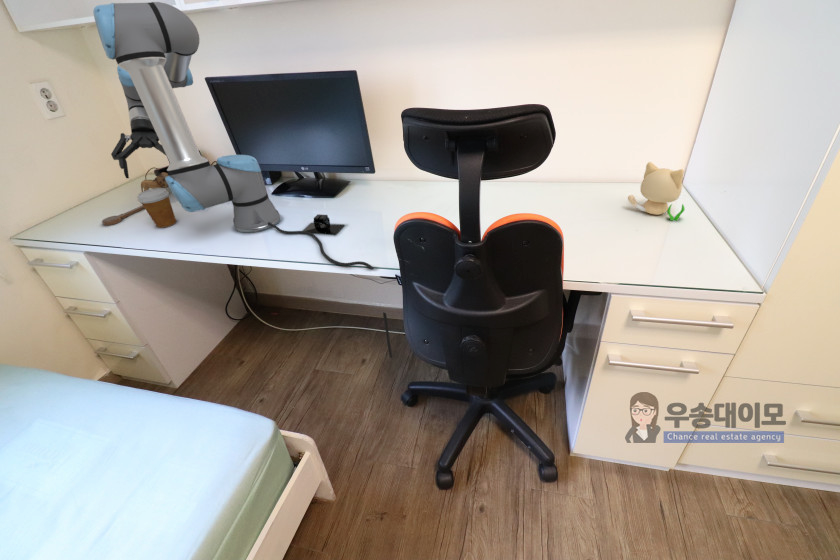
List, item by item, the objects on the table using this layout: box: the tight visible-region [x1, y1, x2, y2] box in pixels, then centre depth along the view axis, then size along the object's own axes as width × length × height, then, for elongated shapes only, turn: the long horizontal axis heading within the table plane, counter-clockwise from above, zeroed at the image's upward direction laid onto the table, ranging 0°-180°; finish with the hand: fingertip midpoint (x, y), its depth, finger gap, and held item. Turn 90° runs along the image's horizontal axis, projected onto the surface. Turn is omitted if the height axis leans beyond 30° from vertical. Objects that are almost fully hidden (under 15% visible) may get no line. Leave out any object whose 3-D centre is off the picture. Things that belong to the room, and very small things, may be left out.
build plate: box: [302, 214, 346, 236], centre depth 128 cm, size 12×7×5 cm, turn 75°
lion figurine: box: [140, 172, 169, 192], centre depth 167 cm, size 15×5×9 cm, turn 104°
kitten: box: [627, 161, 686, 222], centre depth 117 cm, size 15×10×15 cm
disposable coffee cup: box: [137, 188, 177, 229], centre depth 138 cm, size 10×10×12 cm
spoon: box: [101, 204, 146, 227], centre depth 153 cm, size 6×24×2 cm, turn 159°
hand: (150, 175), depth 136 cm, fingers open, 13 cm apart
